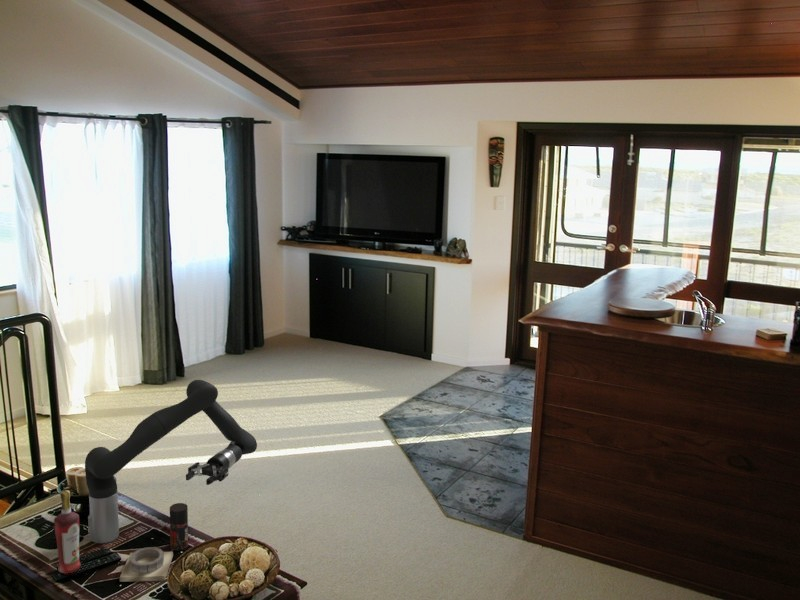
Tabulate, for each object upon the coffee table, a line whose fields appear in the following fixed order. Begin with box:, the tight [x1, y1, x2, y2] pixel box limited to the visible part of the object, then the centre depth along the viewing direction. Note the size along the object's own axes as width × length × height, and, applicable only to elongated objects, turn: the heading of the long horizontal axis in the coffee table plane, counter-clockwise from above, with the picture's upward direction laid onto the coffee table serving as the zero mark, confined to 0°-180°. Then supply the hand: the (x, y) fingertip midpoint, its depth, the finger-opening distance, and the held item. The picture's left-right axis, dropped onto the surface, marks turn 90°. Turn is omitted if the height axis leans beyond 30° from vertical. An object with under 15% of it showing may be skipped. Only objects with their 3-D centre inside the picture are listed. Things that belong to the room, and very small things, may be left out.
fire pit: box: [119, 546, 174, 583], centre depth 231 cm, size 14×14×5 cm
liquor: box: [53, 489, 82, 575], centre depth 225 cm, size 7×7×28 cm
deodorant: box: [169, 502, 189, 552], centre depth 243 cm, size 6×6×15 cm
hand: (196, 480), depth 251 cm, fingers open, 8 cm apart
